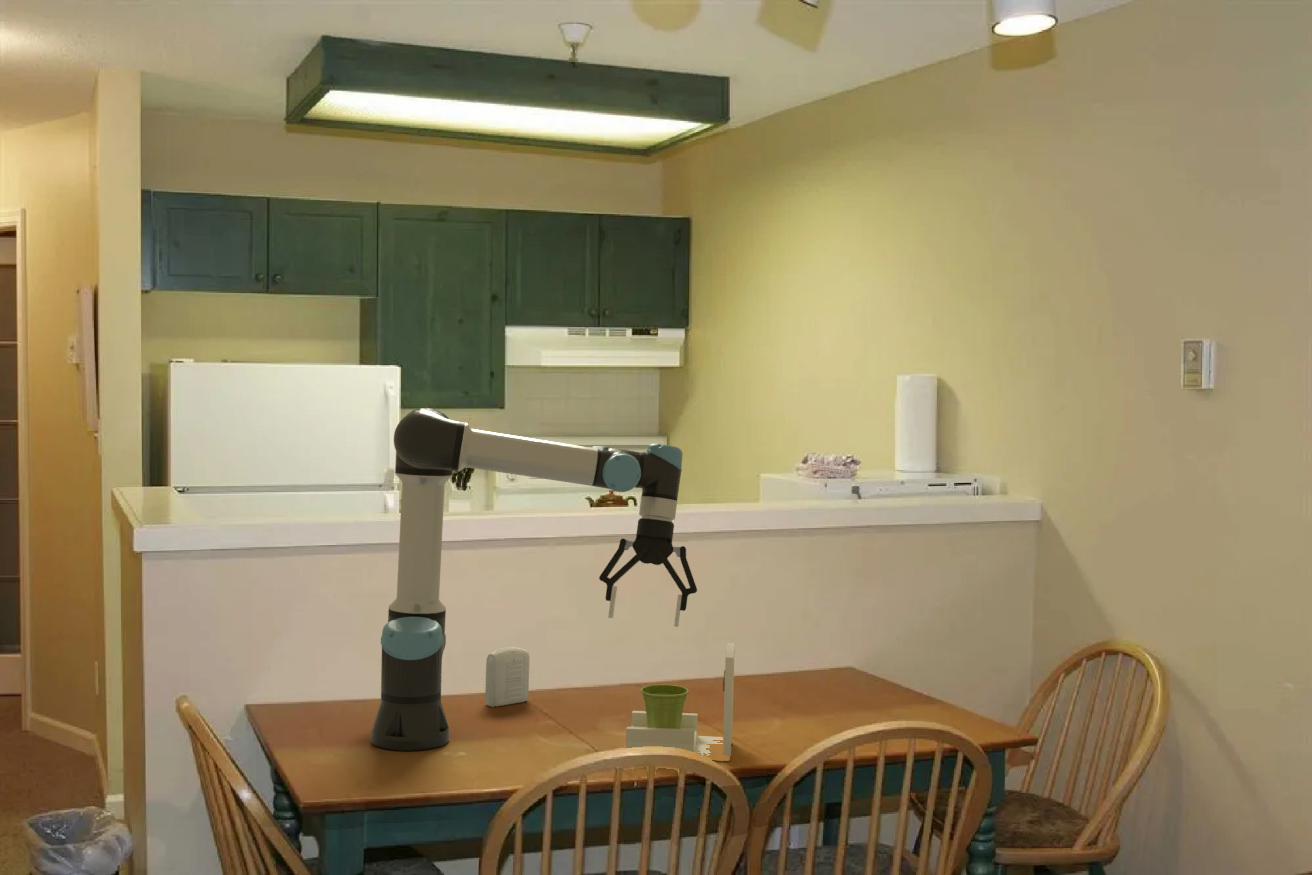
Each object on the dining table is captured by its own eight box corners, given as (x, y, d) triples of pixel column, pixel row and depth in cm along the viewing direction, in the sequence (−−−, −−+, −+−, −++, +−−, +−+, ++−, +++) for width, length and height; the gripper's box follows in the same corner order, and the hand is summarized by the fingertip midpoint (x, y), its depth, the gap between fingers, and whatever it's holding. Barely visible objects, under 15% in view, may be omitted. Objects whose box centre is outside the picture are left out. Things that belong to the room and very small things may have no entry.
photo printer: (519, 697, 314) (520, 643, 313) (531, 701, 311) (532, 646, 310) (482, 704, 307) (483, 648, 306) (494, 708, 304) (495, 651, 303)
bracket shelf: (632, 737, 283) (634, 639, 282) (731, 742, 282) (734, 643, 280) (625, 756, 269) (628, 653, 268) (730, 761, 268) (733, 657, 267)
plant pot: (646, 740, 270) (647, 696, 269) (634, 728, 279) (635, 684, 278) (693, 738, 272) (694, 694, 272) (679, 726, 281) (681, 683, 281)
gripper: (716, 528, 294) (704, 629, 292) (598, 513, 296) (585, 613, 294) (716, 526, 287) (703, 630, 285) (595, 510, 289) (581, 614, 286)
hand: (643, 622), depth 289 cm, fingers open, 13 cm apart
